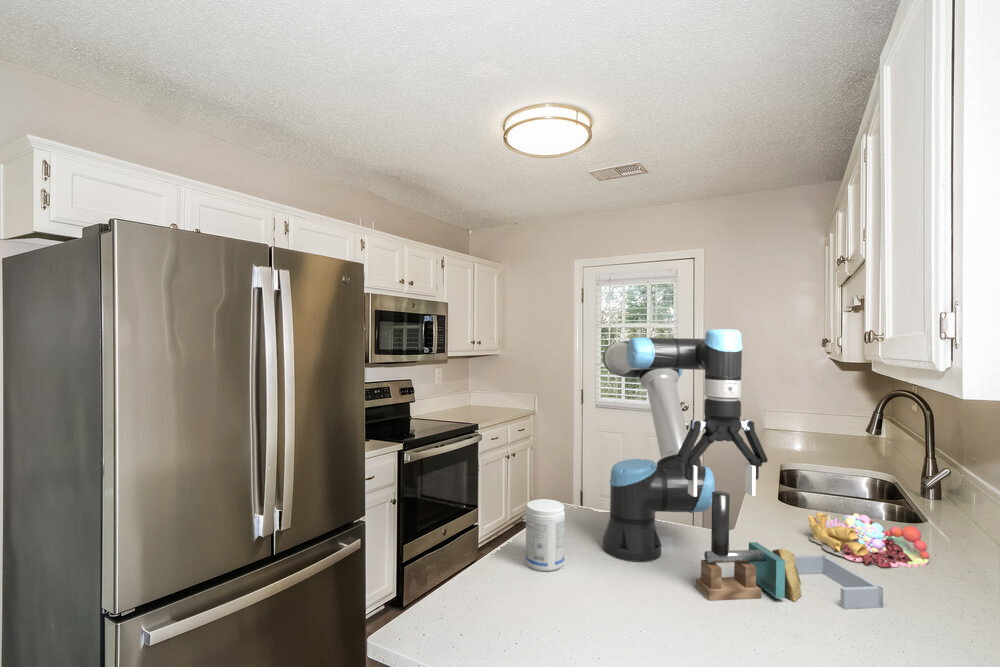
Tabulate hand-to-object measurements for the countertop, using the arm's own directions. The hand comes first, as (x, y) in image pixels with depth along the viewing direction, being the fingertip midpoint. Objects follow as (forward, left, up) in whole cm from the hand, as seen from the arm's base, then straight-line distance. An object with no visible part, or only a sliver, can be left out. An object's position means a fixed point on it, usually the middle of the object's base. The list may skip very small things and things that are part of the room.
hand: (721, 494), depth 114 cm
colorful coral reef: (+54, +21, -22) cm, 62 cm away
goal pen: (+28, 0, -22) cm, 35 cm away
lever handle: (+5, 0, -21) cm, 21 cm away
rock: (+18, 0, -22) cm, 28 cm away
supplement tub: (-36, +17, -22) cm, 46 cm away
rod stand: (+2, 0, -22) cm, 22 cm away
